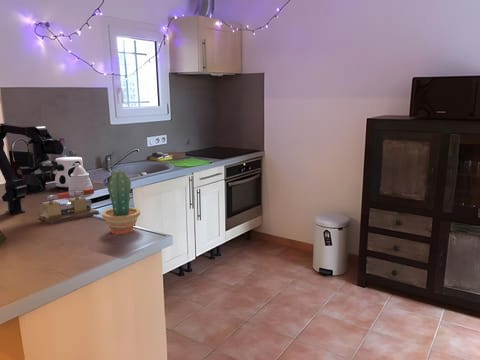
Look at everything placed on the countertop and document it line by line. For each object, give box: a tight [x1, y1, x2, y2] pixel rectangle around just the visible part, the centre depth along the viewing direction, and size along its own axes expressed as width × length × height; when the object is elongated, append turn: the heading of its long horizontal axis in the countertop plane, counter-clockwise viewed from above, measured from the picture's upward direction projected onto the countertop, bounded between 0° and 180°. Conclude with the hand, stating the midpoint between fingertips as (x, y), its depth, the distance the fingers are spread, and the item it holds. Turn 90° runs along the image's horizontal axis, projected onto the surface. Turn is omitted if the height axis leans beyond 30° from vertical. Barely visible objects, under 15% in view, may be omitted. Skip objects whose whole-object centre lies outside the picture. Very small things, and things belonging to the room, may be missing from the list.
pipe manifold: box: [41, 187, 95, 219], centre depth 182 cm, size 6×23×10 cm, turn 138°
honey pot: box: [68, 164, 94, 198], centre depth 225 cm, size 13×13×18 cm
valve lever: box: [46, 191, 71, 202], centre depth 177 cm, size 9×3×2 cm, turn 138°
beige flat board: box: [38, 207, 100, 225], centre depth 182 cm, size 13×22×2 cm, turn 138°
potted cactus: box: [101, 169, 141, 235], centre depth 160 cm, size 15×15×25 cm
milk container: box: [54, 156, 84, 189], centre depth 243 cm, size 17×17×18 cm
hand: (43, 187), depth 181 cm, fingers closed
